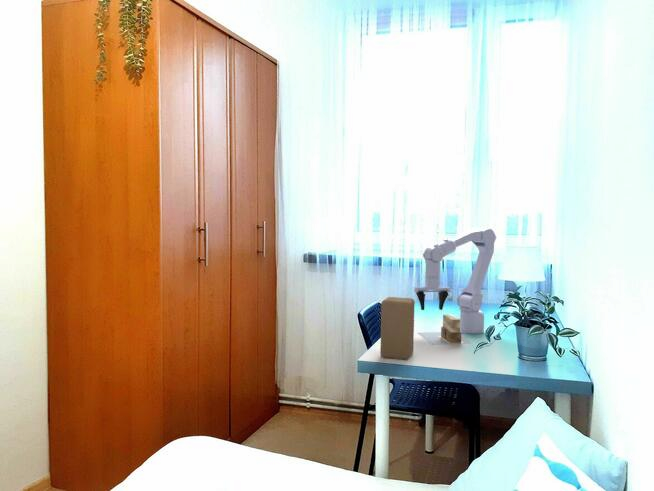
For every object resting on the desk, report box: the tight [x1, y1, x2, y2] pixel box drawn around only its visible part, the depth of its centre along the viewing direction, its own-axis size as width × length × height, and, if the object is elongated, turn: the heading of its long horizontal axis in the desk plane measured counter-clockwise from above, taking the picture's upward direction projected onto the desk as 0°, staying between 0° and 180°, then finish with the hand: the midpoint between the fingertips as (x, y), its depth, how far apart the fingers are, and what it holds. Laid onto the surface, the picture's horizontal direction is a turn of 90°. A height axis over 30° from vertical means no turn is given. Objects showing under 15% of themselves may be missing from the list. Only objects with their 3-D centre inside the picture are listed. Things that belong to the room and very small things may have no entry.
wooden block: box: [380, 296, 416, 361], centre depth 198 cm, size 10×10×20 cm
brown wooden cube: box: [440, 326, 447, 339], centre depth 226 cm, size 4×4×4 cm
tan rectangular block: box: [442, 314, 460, 332], centre depth 223 cm, size 4×10×5 cm, turn 7°
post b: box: [446, 330, 462, 343], centre depth 220 cm, size 4×4×4 cm
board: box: [417, 331, 473, 346], centre depth 226 cm, size 16×20×1 cm
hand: (431, 309), depth 231 cm, fingers open, 7 cm apart
